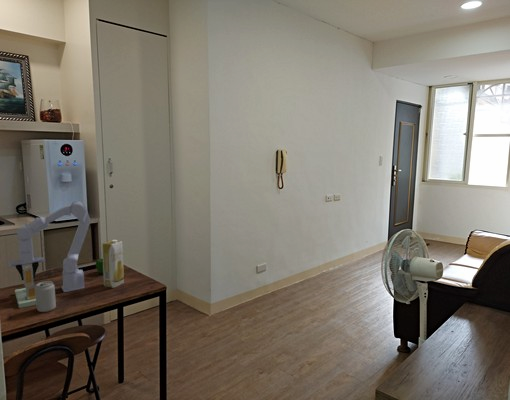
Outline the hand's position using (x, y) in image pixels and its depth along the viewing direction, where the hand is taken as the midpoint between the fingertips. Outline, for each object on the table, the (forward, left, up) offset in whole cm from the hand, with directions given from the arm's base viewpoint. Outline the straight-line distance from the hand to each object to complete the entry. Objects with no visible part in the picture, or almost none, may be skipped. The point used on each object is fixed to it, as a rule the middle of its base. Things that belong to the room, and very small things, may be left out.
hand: (28, 278), depth 180 cm
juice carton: (-37, +10, -8) cm, 39 cm away
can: (-4, +23, -8) cm, 25 cm away
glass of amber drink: (0, +10, -8) cm, 13 cm away
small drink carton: (0, 0, -2) cm, 2 cm away
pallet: (0, +5, -8) cm, 9 cm away
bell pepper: (-38, -12, -8) cm, 41 cm away
